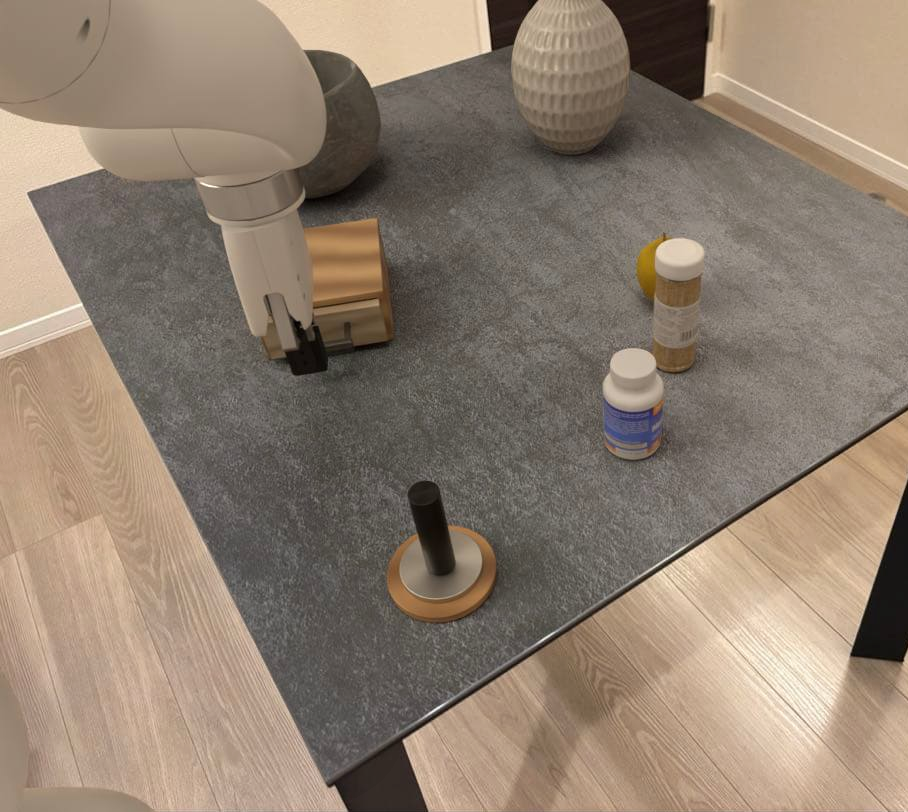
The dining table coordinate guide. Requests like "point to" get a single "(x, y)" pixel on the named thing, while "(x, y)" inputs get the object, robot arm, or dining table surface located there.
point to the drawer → (340, 327)
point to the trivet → (448, 609)
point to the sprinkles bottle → (677, 303)
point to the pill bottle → (633, 405)
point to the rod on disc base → (437, 551)
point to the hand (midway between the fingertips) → (311, 367)
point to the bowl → (342, 125)
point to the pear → (649, 267)
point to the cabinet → (349, 266)
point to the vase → (570, 73)
